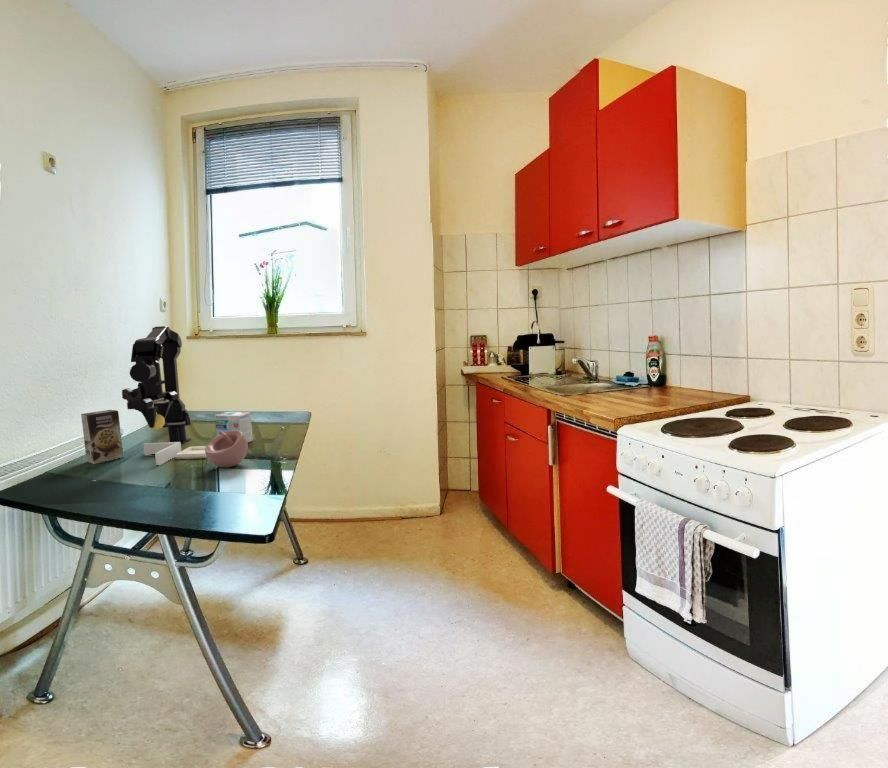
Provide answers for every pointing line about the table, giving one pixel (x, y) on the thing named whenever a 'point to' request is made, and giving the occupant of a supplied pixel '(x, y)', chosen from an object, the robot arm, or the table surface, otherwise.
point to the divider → (162, 450)
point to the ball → (159, 422)
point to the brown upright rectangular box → (102, 436)
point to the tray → (192, 453)
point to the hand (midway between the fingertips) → (156, 426)
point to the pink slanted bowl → (227, 449)
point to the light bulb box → (235, 423)
